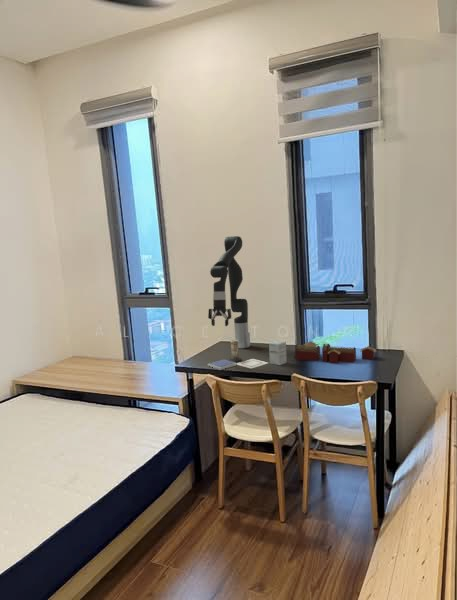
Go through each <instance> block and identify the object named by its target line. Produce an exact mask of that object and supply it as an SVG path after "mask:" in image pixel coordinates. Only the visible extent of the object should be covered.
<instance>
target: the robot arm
mask: <svg viewBox="0 0 457 600" xmlns="http://www.w3.org/2000/svg"><path fill="white" fill-rule="evenodd" d="M223 245H224V251H225V252H224V253H222V255H221V256H220V257H219V259H218V261H216V263H215V264H213V265H212V267H211V268H210V271H209V272H210V276H211V277H212V278H215V279H219V278H220V279H219V280H218V281H215V282H213V295H212V297H213V298H212V299H213V300H212V302H213V308H209V309H208V316H207V317H208V319H210V321H211V323H210V324H211V326H212V327H215V325H216V323H215V321H216V320H215V318H216V317H223V318H224V319H225V320H224V327H228V326H229V320H231V319H232V313H241V315H239V316H236V317H235V318H234V319H233V322H234V340H238V349H246V348H250V347H251V338H250V337H251V335H250V332H249V319H248V318H249V308H248V307H249V305H248V300H247V299H246V298H238V297H237V296H238V295H237V294H238V290H239V288H240V287H241V285H242V283H243V270H242V267H241V266H240V265H239V263H238V262H237V260H236V259H235V257H236V255H237V254H238V253H239V252H240V251H241V249H242V247H243V240H242V237H241V236H238V235H235V236H226V237H225V238H224V242H223ZM227 277H228V283H229V292H230V308H227V297H226V296H227V295H226V282H227ZM226 312H227V313H226Z"/></svg>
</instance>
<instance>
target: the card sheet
mask: <svg viewBox="0 0 457 600" xmlns="http://www.w3.org/2000/svg"><path fill="white" fill-rule="evenodd" d="M268 364H269V362H266V361H262V360H259V359H255V358H250V359H247V360H243V361H239V362H237V363H236V366H240V367H242V368H243V367H244V368H247V369H249V370H250V369H251V370H252V369H255V368H258V367H261V366H264V365H268Z"/></svg>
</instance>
